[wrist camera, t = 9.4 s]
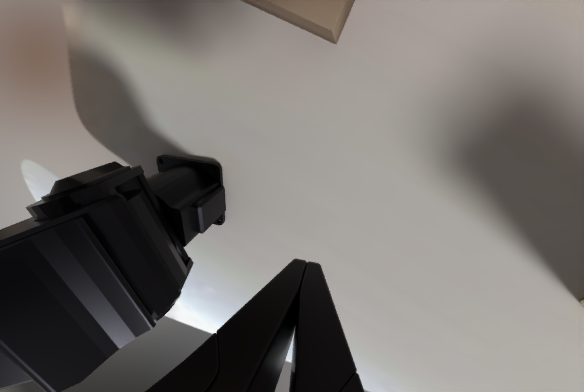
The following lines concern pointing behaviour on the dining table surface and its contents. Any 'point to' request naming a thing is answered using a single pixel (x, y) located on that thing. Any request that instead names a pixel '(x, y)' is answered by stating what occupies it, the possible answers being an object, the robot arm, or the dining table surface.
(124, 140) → the dining table surface
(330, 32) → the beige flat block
